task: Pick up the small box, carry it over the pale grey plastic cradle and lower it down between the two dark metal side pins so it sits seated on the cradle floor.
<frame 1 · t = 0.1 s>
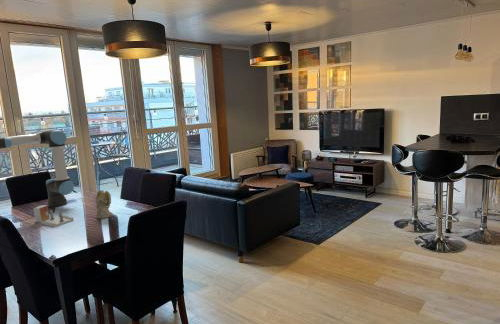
small box: (42, 220, 254), on the table
figurine: (104, 216, 253), on the table
pin tray: (57, 222, 248), on the table
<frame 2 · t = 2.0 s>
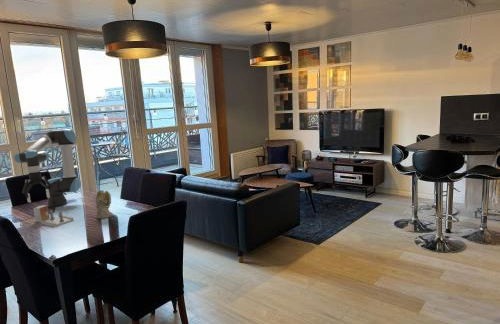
hand: (39, 199, 252), 16 cm above the table, fingers open, 13 cm apart
nothing on the table moved.
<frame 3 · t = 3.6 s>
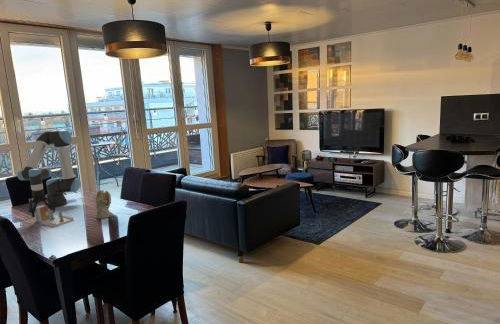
hand: (42, 218, 254), 1 cm above the table, fingers closed on small box, 9 cm apart
small box: (42, 220, 254), on the table, touching gripper
everything else where it was.
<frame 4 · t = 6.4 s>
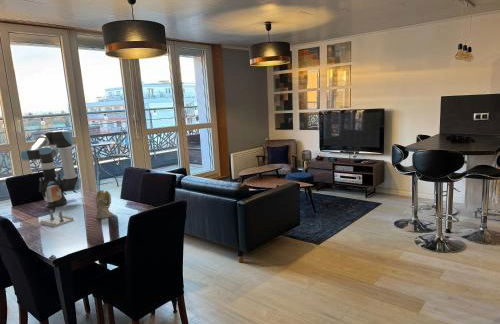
hand: (53, 199, 245), 17 cm above the table, fingers closed on small box, 9 cm apart
small box: (53, 200, 245), point 16 cm above the table, touching gripper
everything else where it was.
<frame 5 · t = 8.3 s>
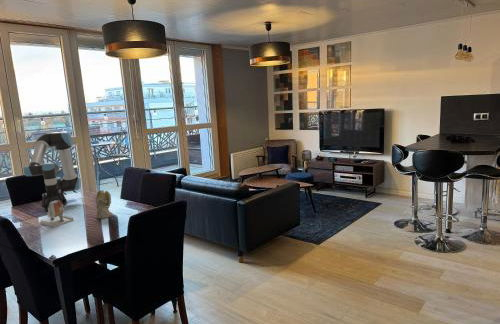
hand: (56, 214, 247), 6 cm above the table, fingers closed on small box, 9 cm apart
small box: (56, 216, 247), point 5 cm above the table, touching gripper
everything else where it was.
when the fingers open (4 cm above the table, at t = 9.5 s): small box drops 2 cm, resting on pin tray.
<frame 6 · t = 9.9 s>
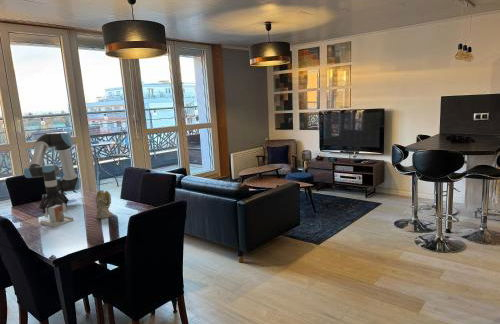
hand: (56, 214, 247), 6 cm above the table, fingers open, 13 cm apart
small box: (57, 220, 248), point 1 cm above the table, touching pin tray
everything else where it was.
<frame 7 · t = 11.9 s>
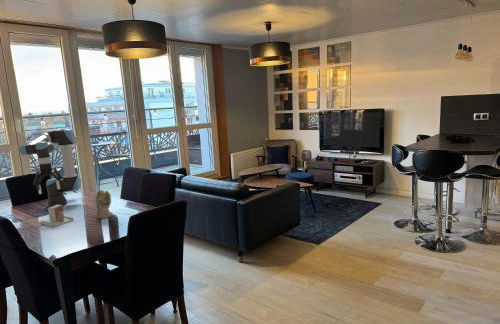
hand: (49, 191, 250), 22 cm above the table, fingers open, 13 cm apart
nothing on the table moved.
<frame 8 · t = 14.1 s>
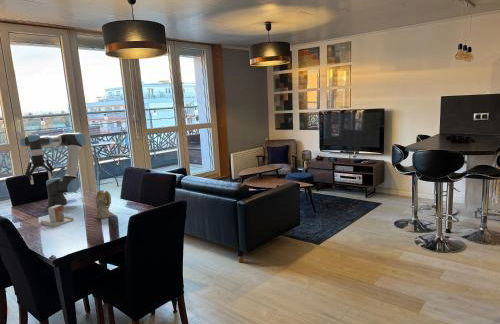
hand: (41, 182, 261), 27 cm above the table, fingers open, 13 cm apart
nothing on the table moved.
at the end: small box inside the target area on the pin tray (0.3 cm from its centre), point 1.0 cm above the pin tray's base; small box tilted 0°; the gripper is holding nothing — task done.
